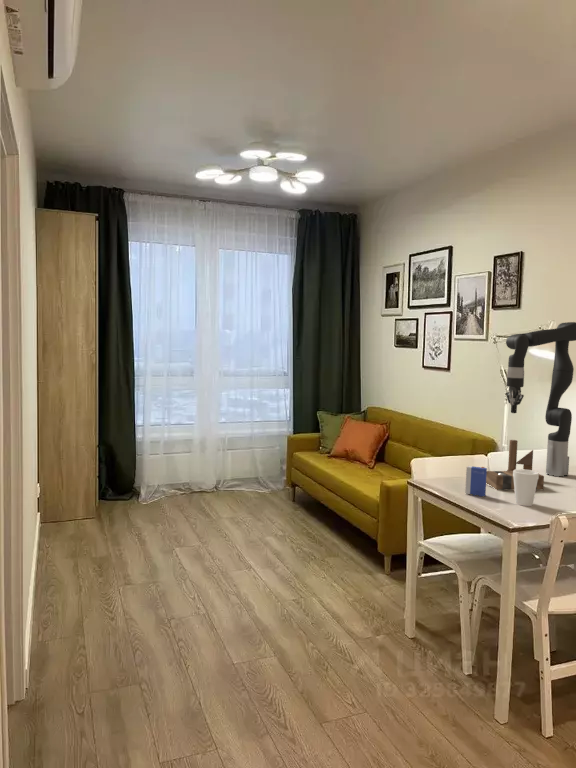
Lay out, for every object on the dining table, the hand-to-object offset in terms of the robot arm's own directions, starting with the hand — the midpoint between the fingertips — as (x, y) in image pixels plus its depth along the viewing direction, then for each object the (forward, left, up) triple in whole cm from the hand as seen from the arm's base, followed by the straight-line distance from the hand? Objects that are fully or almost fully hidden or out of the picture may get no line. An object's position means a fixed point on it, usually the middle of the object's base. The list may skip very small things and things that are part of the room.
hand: (513, 413), depth 280 cm
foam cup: (+18, +46, -31) cm, 58 cm away
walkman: (+32, +32, -31) cm, 55 cm away
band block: (+8, +19, -31) cm, 37 cm away
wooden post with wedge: (-3, +3, -31) cm, 31 cm away
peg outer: (+14, +19, -31) cm, 39 cm away
